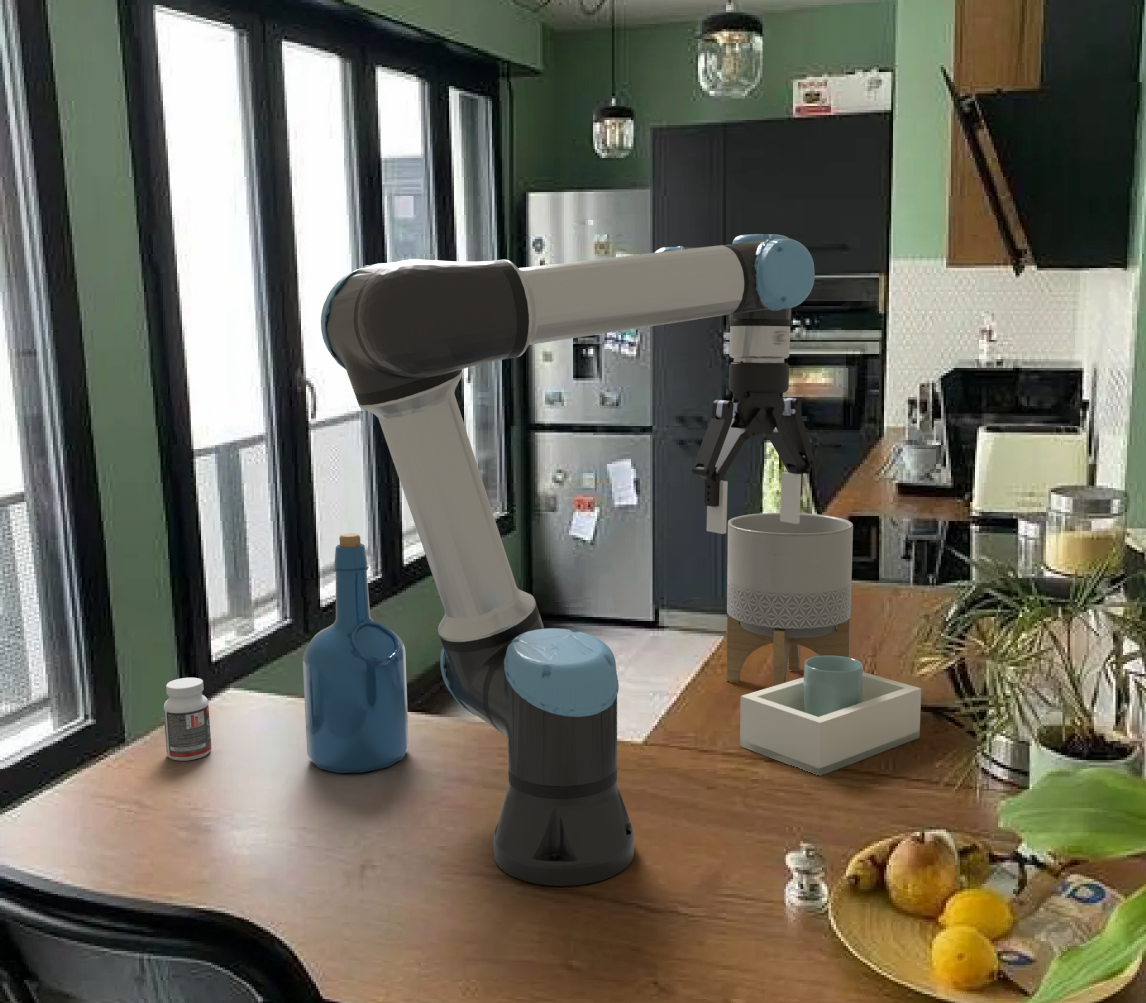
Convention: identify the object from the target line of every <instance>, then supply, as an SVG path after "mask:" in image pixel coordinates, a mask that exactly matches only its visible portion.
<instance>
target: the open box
mask: <svg viewBox="0 0 1146 1003" xmlns="http://www.w3.org/2000/svg"><path fill="white" fill-rule="evenodd" d="M803 687H804V676H803V677H799V678H797V679H793V680H790V681H786V683H783V684H779V685H776V686H773V685H772V686H770V687H766V688H763V689H760V690H756V691H753V692H750V693H749V692H748V693H746V694H743V695H740V707H739V710H740V715H739V716H740V717H739V718H740V720H739V721H740V723H739V724H740V726H739V740H740V741H739V747H741V748H744V749H746V750H749V751H752V752H754V753H757V754H759V755H763V756H765V757H767V758H770V759H771V760H772V759H773V760H776V761H778V762H780V763H783V764H785V765H789V766H791V765H792V766H791V767H793V766H795V767H794V768H796V767H798V768H800V769H799V770H801V769H803V770H802V771H804V770H805V771H804V772H806V771H808V772H807V773H809V772H811V773H813V774H812V775H814V774H816V775H815V776H817V775H819V776H818V777H821V776H823V774H824V775H826V774H829V773H831V772H834V771H836V770H840V769H841V768H844V767H846V766H849V765H852V764H854V763H858V762H860V761H862V760H865V759H868V758H870V757H873V756H876V755H877V754H881V753H883V752H887V751H888V750H892V749H893V748H894V749H895V748H896V747H899V746H901V745H904V744H906V743H910V742H911V741H915V740H917V739H920V735H921V734H920V732H921V729H920V728H921V704H922V702H921V701H922V688H921V687H917V686H914V685H910V684H907V683H903V682H900V681H896V680H893V679H889V678H886V677H882V676H880V675H875V674H871V673H868V672H865V671H863V696H862V703H859V704H856V705H853V706H850V707H847V708H844V709H841V710H838V711H835V712H832V713H829V714H826V715H823V716H820V717H817V716H814V715H811V714H808V713H805V712H804V695H803ZM798 768H797V769H798ZM811 773H810V774H811ZM825 773H826V774H825ZM820 775H821V776H820Z"/></svg>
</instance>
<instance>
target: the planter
mask: <svg viewBox="0 0 1146 1003" xmlns="http://www.w3.org/2000/svg"><path fill="white" fill-rule="evenodd" d="M853 533H854V524H853V522H851V521H850V520H847V519H845V518H841V517H837V516H832V515H825V514H818V513H817V514H816V513H805V512H804V513H803V512H800V522H799V523H798V524H794V523H788V522H782V521H780V512H764V513H752V514H751V513H750V514H745V515H740V516H735V517H732V518H730V519H729V520H727V567H726V568H727V571H726V572H727V574H726V576H727V577H726V578H727V580H726V582H727V583H726V584H727V585H726V586H727V587H726V600H727V601H726V613H727V614H726V616H727V619H726V682H727V681H729V682H728V683H734V682H738V683H739V682H740V680H741V672H742V668H743V666H744V664H745V662H746V660H747V659H748V658H749V656H751V654H752V653H754V652H755V651H757V650H758V649H760V648H762V647H764V646H767V645H769V644H773V645H772V646H773V647H772V648H773V649H772V650H773V651H772V652H773V654H772V656H773V657H772V687H773V686H776V685H779V684H783V683H786V682H787V673H788V671H789V670H792V671H799V672H800V670H801V646H802V647H804V648H807V649H808V650H812V651H813V652H814V653H816V654H817V656H825V655H831V656H844V657H849V658H851V656H850V655H851V626H852V625H851V615H852V614H851V613H852V612H851V611H852V610H851V609H852V579H853V578H852V576H853V574H852V573H853V540H854V537H853V535H854V534H853ZM799 669H800V670H799ZM730 681H731V682H730Z"/></svg>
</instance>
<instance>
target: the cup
mask: <svg viewBox="0 0 1146 1003" xmlns="http://www.w3.org/2000/svg"><path fill="white" fill-rule="evenodd" d="M863 672H864V666H863V664H862V662H861V661H859V660H858V659H856V658H852V657H850V658H849V657H844V656H831V655H825V656H819V655H815V656H811V657H809V658H807V659H805V661H804V664H803V677H804V687H803V695H804V712H805V713H808V714H811V715H814V716H817V717H820V716H823V715H826V714H829V713H832V712H835V711H838V710H841V709H844V708H847V707H850V706H853V705H856V704H859V703H862V696H863Z"/></svg>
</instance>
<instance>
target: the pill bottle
mask: <svg viewBox="0 0 1146 1003" xmlns="http://www.w3.org/2000/svg"><path fill="white" fill-rule="evenodd" d="M204 687H205V686H204V680H203V679H201V678H199V677H198V678H197V677H183V678H181V677H180V678H177V679H174V680H171V681H169V682H167V684H166V687H165V688H166V690H165V692H166V695H167V696H168V699H167V700H166V701H165V702H164V704H163V718H164V719H163V720H164V731H165V732H164V733H165V734H164V735H165V746H166V747H165V748H166V755H167V757H168V758H169V759H171V760H174V761H179V762H180V761H181V762H184V761H185V762H186V761H194V760H198V759H201V758H205V757H206V756H208V755H209V754H210V753H211V751H212V738H211V737H212V736H211V735H212V734H211V723H210V722H211V721H210V720H211V719H210V708H209V700H208V698H207V697H206V696H205V695H204V694H203V691H204V689H205V688H204Z"/></svg>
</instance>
